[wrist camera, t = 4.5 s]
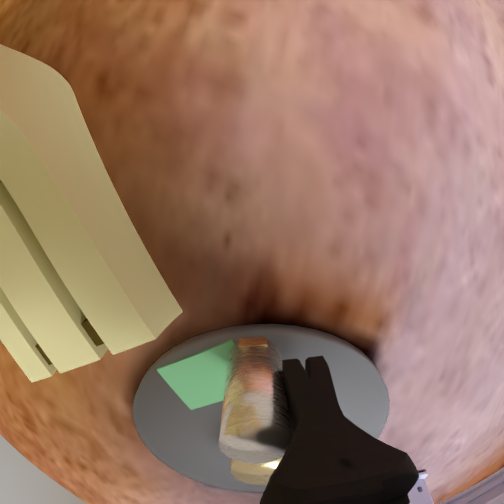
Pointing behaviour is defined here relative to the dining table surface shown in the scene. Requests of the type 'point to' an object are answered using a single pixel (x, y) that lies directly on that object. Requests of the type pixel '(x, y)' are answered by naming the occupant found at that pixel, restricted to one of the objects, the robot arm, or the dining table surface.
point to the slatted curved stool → (65, 235)
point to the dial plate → (212, 394)
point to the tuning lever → (254, 411)
